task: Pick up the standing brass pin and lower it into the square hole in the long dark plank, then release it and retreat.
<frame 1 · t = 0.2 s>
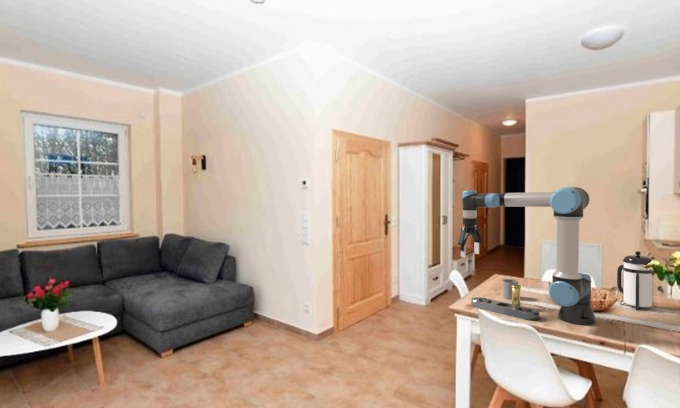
hand: (470, 255, 204), 28 cm above the table, fingers open, 13 cm apart
pin: (516, 307, 197), on the table
long dark plank: (503, 311, 191), on the table
coffee press: (634, 306, 195), on the table
cup: (510, 298, 215), on the table
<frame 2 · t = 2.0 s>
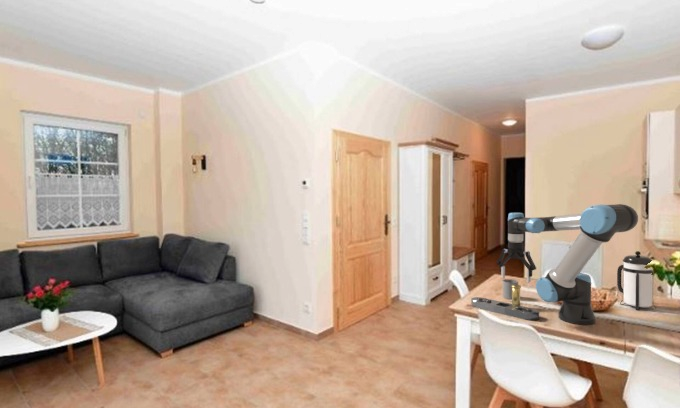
hand: (515, 280, 197), 15 cm above the table, fingers open, 13 cm apart
nothing on the table moved.
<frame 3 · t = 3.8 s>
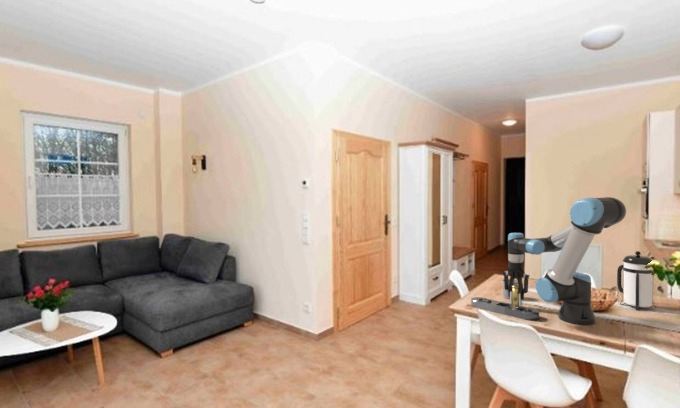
hand: (516, 304, 197), 2 cm above the table, fingers closed on pin, 4 cm apart
pin: (516, 307, 197), on the table, touching gripper
everything else where it was.
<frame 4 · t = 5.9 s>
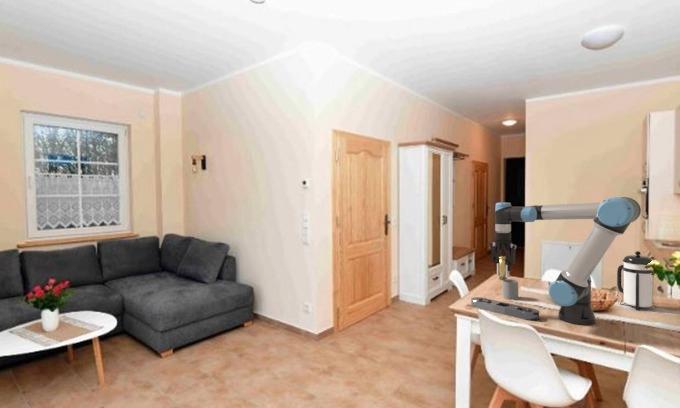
hand: (503, 276, 191), 19 cm above the table, fingers closed on pin, 4 cm apart
pin: (503, 279, 191), point 17 cm above the table, touching gripper
everything else where it was.
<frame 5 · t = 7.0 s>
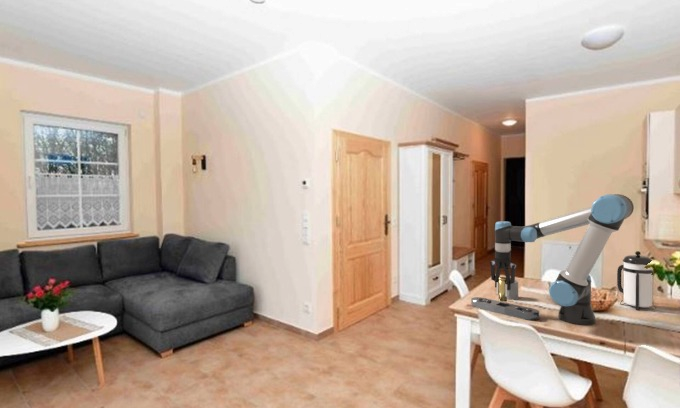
hand: (502, 294, 191), 9 cm above the table, fingers closed on pin, 4 cm apart
pin: (502, 300, 191), point 6 cm above the table, touching gripper
everything else where it was.
when the fingers open (5 cm above the table, at t = 8.1 s): pin drops 2 cm, resting in long dark plank.
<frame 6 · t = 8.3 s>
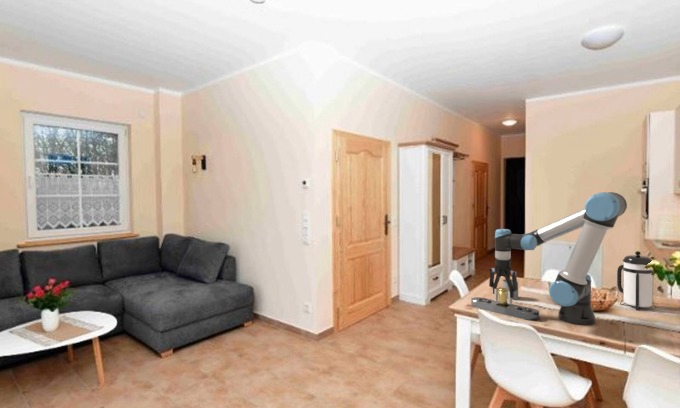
hand: (503, 302, 191), 5 cm above the table, fingers open, 7 cm apart
pin: (503, 311, 191), resting in long dark plank
everything else where it was.
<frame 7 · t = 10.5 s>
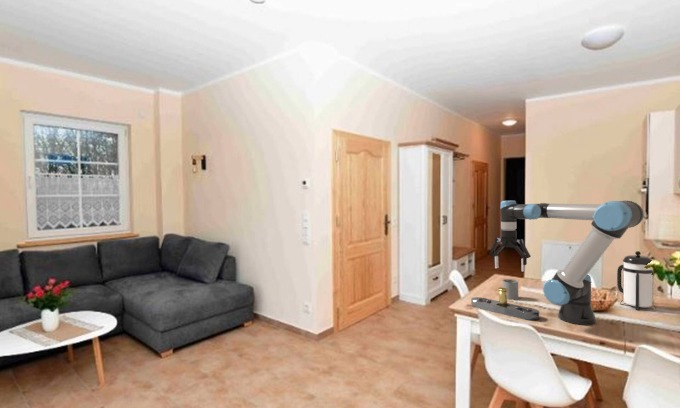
hand: (509, 269, 192), 22 cm above the table, fingers open, 13 cm apart
nothing on the table moved.
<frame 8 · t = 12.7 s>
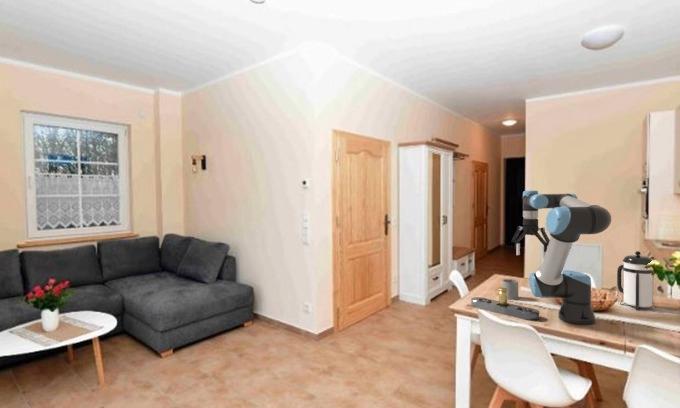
hand: (530, 256, 202), 27 cm above the table, fingers open, 13 cm apart
nothing on the table moved.
at the end: pin 0.0 cm off-centre on the long dark plank, point 0.0 cm above the long dark plank's base; pin tilted 0°; the gripper is holding nothing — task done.
